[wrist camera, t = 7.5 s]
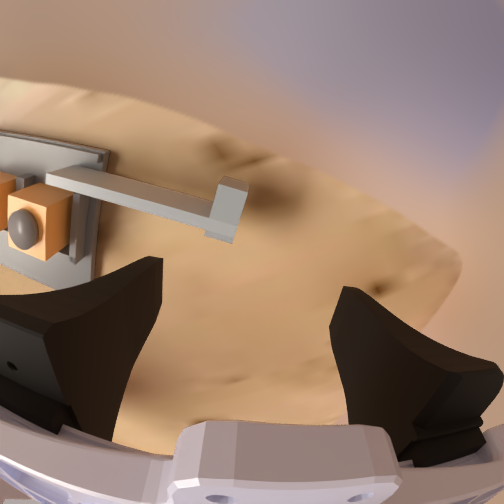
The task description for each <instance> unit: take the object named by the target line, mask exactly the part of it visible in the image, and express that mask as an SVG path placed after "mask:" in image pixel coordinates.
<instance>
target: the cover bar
mask: <svg viewBox="0 0 504 504" xmlns="http://www.w3.org/2000/svg"><path fill="white" fill-rule="evenodd" d="M45 184H48V185H51V186H55V187H58V188H62V189H65V190H69V191H73V192H76V193H80V194H83V195H87V196H90V197H94V198H97V199H101V200H104V201H108V202H111V203H115V204H118V205H122V206H125V207H129V208H132V209H136V210H139V211H143V212H146V213H150V214H153V215H156V216H160V217H163V218H167V219H170V220H174V221H177V222H181V223H184V224H187V225H191V226H194V227H198V228H201V229H204V230H206V231H205V235H204V236H207V237H211V238H214V239H217V240H221V241H224V242H228V243H231V244H232V243H233V239H234V236H235V233H236V230H237V226H238V223H239V220H240V217H241V214H242V211H243V207H244V204H245V201H246V198H247V195H248V190H249V183H246V182H243V181H240V180H236V179H233V178H230V177H226V176H224V177H223V178H222V180H221V181H220V183H219V185H218V188H217V192H216V195H215V199H214V202H213V201H209V200H206V199H203V198H199V197H196V196H192V195H188V194H185V193H181V192H178V191H174V190H171V189H167V188H163V187H160V186H156V185H152V184H148V183H145V182H141V181H137V180H133V179H130V178H126V177H122V176H118V175H114V174H110V173H106V172H102V171H98V170H94V169H90V168H86V167H82V166H78V165H72V166H68V167H65V168H62V169H58V170H55V171H52V172H49V173H46V183H45Z"/></svg>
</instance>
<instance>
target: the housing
mask: <svg viewBox="0 0 504 504" xmlns="http://www.w3.org/2000/svg"><path fill="white" fill-rule="evenodd" d="M109 154H110V151H109V150H105V149H100V148H96V147H91V146H86V145H81V144H77V143H72V142H66V141H61V140H56V139H51V138H45V137H39V136H34V135H28V134H22V133H15V132H9V131H2V130H0V171H1V172H4V173H8V174H12V175H15V176H17V177H16V189H15V192H16V191H19V190H21V189H24V188H26V187H29V186H31V185H34V184H37V183H44V184H45V183H46V173H49V172H52V171H55V170H58V169H62V168H65V167H68V166H72V165H78V166H82V167H86V168H90V169H94V170H98V171H102V172H106V170H107V165H108V159H109ZM47 185H48V184H47ZM72 192H73V191H72ZM101 201H102V200H101V199H97V198H94V197H90V196H87V195H83V194H80V193H76V192H74V193H73V203H72V214H71V227H70V243H69V244H68V245H67V246H65V247H64V248H63V249H61V250H60V251H59V252H57V253H56V254H55V255H53V256H52V257H51V258H50V259H48V260H47V261H46V262H45V261H43V260H40V259H38V258H35V257H33V256H31V255H28V254H26V253H24V252H21V251H19V250H17V249H15V248H12V247H10V246H9V242H8V227H7V228H6V229H4V230H2V231H0V264H1V265H3V266H5V267H7V268H9V269H12V270H14V271H16V272H18V273H20V274H22V275H24V276H26V277H28V278H31V279H33V280H35V281H37V282H39V283H42V284H44V285H46V286H48V287H51V288H53V289H55V290H60V289H65V288H69V287H73V286H77V285H80V284H83V283H86V282H89V281H92V280H94V276H95V259H96V246H97V235H98V225H99V217H100V209H101Z"/></svg>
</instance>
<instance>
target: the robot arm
mask: <svg viewBox="0 0 504 504" xmlns="http://www.w3.org/2000/svg"><path fill="white" fill-rule="evenodd" d="M162 280H163V258H158V257H152V256H147V257H144V258H142V259H140V260H137V261H135V262H133V263H131V264H129V265H127V266H125V267H123V268H120V269H118V270H116V271H114V272H112V273H109V274H107V275H104V276H102V277H100V278H97V279H95V280H92V281H89V282H86V283H83V284H80V285H77V286H73V287H69V288H65V289H60V290H56V291H51V292H44V293H37V294H26V295H0V504H3V502H4V500H5V499H34V500H36V501H37V502H39V503H41V504H484V503H486V502H487V501H489V500H490V499H491V498H493V497H494V496H496V495H497V494H498V493H500V492H501V491H502V490H504V424H501V425H498V426H495V427H493V428H490V429H488V430H486V431H485V432H483V433H482V432H481V430H480V428H479V427H481V426H482V424H483V420H482V418H481V417H480V416H481V414H482V413H483V412H484V411H485V410H486V409H487V407H488V406H489V405H490V404H491V402H492V401H493V400H494V399H495V397H496V396H497V394H498V393H499V391H500V389H501V387H502V385H503V381H504V375H503V373H502V371H501V370H500V368H499V367H498V366H497V364H496V363H494V362H491V361H487V360H484V359H480V358H476V357H472V356H469V355H467V354H464V353H461V352H459V351H456V350H454V349H451V348H449V347H447V346H444V345H442V344H440V343H438V342H436V341H434V340H432V339H430V338H428V337H427V336H425V335H423V334H421V333H420V332H418V331H417V330H415V329H413V328H412V327H410V326H409V325H407V324H406V323H405V322H403V321H402V320H400V319H399V318H397V317H396V316H395V315H393V314H392V313H391V312H389V311H388V310H387V309H386V308H384V307H383V306H382V305H380V304H379V303H378V302H377V301H375V300H374V299H373V298H371V297H370V296H369V295H367V294H366V293H365V292H363V291H362V290H360V289H358V288H355V287H347V286H343V289H342V291H341V294H340V297H339V300H338V303H337V306H336V309H335V312H334V315H333V317H332V320H331V323H330V326H329V330H330V338H331V345H332V350H333V353H334V357H335V360H336V364H337V367H338V371H339V374H340V378H341V381H342V385H343V388H344V393H345V398H346V405H347V412H348V422H349V425H298V424H278V423H265V422H253V421H244V420H208V421H205V422H202V423H199V424H195V425H192V426H189V427H186V428H184V429H183V431H182V433H181V434H180V436H179V438H178V439H177V443H176V447H175V452H174V455H160V454H153V453H149V452H145V451H141V450H137V449H134V448H130V447H127V446H123V445H120V444H117V443H113V442H112V437H113V432H114V428H115V424H116V420H117V416H118V412H119V408H120V405H121V401H122V398H123V394H124V391H125V388H126V385H127V382H128V379H129V376H130V373H131V370H132V368H133V366H134V363H135V361H136V359H137V357H138V355H139V353H140V351H141V349H142V347H143V345H144V343H145V341H146V339H147V337H148V336H149V334H150V332H151V330H152V328H153V326H154V324H155V322H156V319H157V316H158V313H159V310H160V307H161V304H162Z"/></svg>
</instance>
